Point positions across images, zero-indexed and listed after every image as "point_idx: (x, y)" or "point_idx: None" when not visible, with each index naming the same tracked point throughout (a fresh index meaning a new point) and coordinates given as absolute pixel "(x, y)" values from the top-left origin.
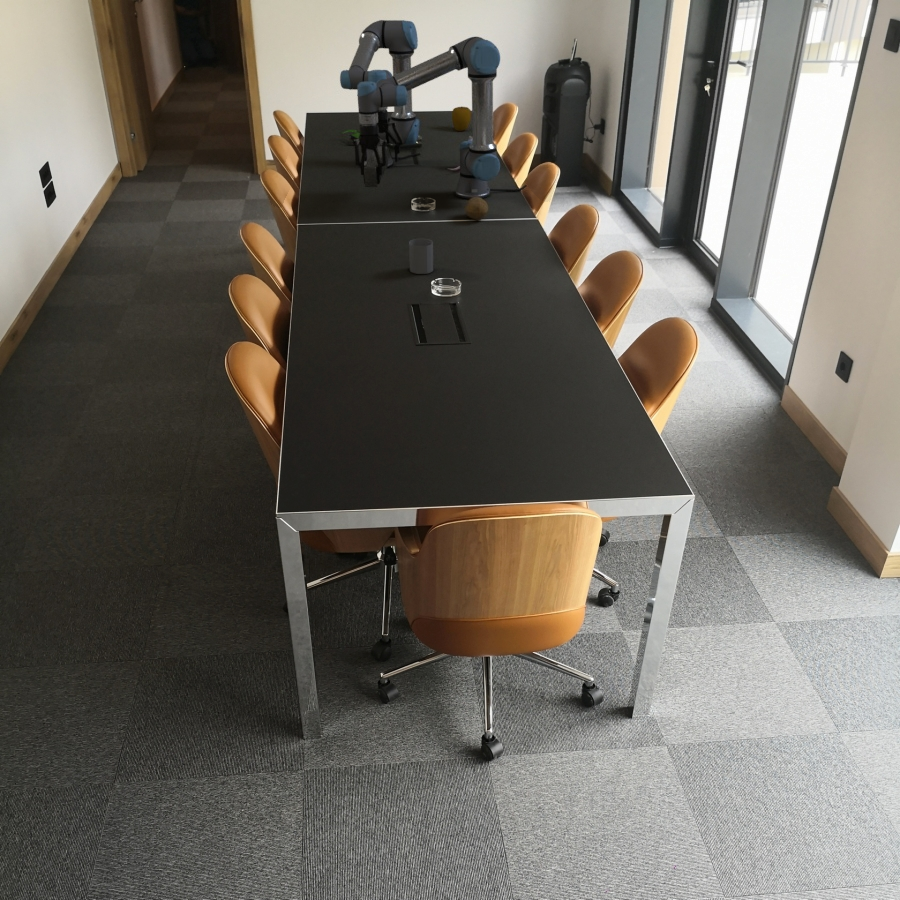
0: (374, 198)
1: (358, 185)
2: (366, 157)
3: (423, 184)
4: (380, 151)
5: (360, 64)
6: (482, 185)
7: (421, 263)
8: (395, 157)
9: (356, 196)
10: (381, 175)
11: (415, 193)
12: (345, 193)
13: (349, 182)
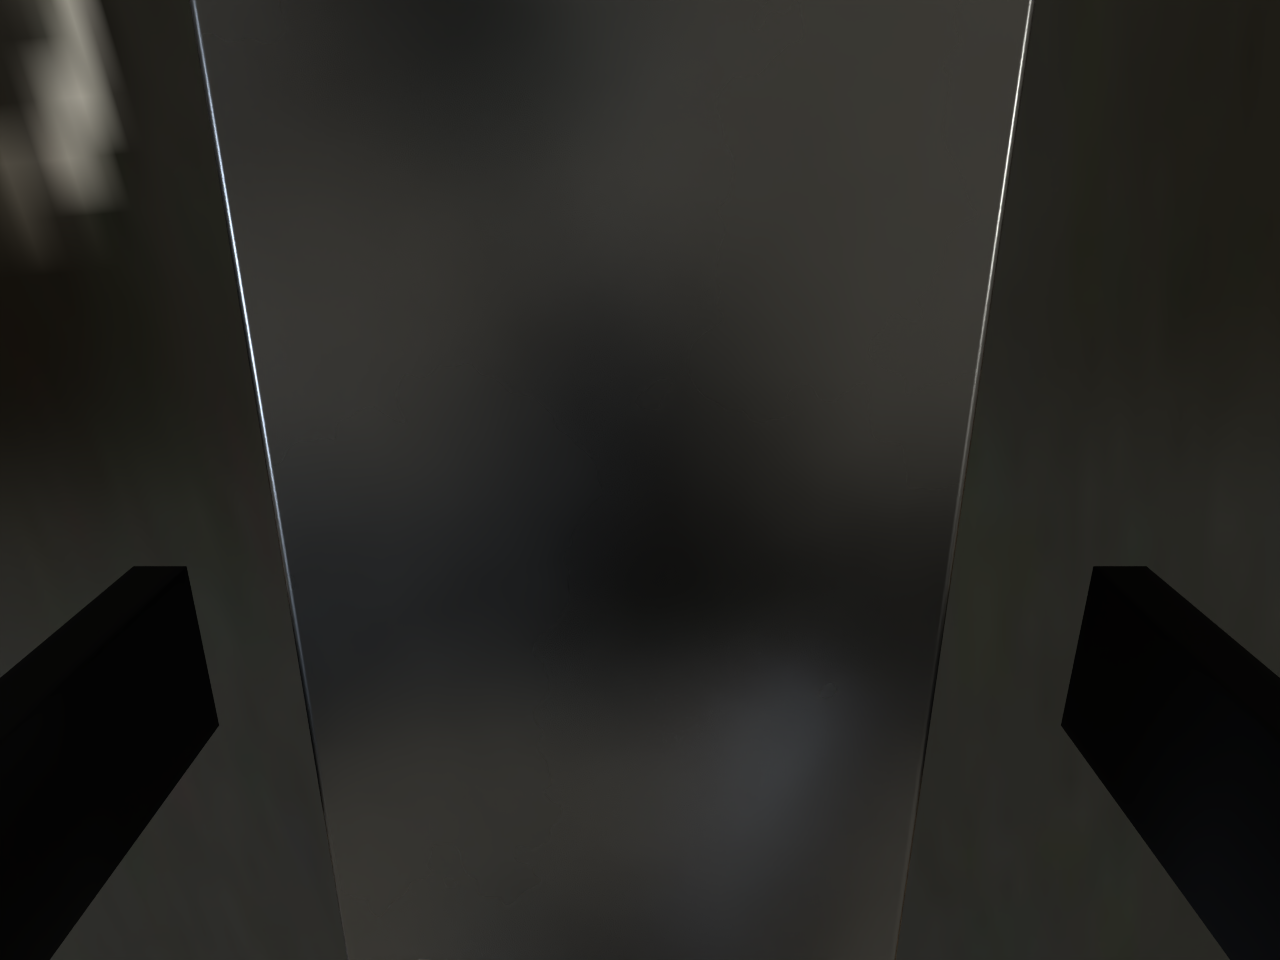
0: None
1: (1006, 719)
2: (1114, 716)
3: (183, 809)
4: (504, 303)
5: None
6: None
7: None
8: (94, 636)
9: (1031, 208)
10: None
11: (160, 435)
12: (1200, 355)
13: (1122, 821)
